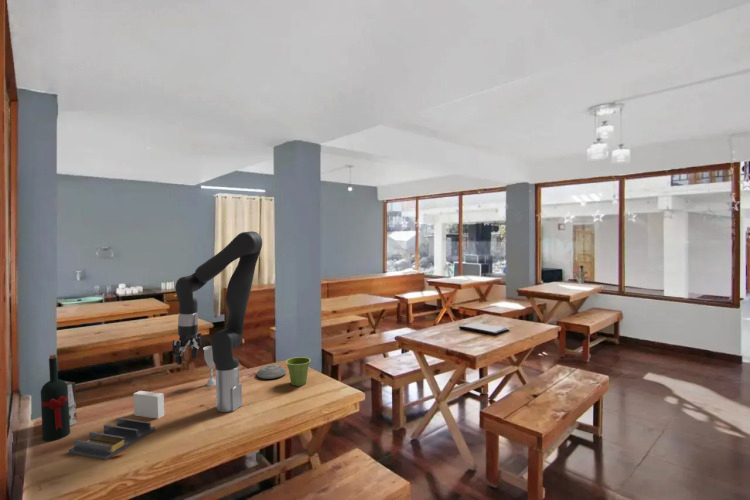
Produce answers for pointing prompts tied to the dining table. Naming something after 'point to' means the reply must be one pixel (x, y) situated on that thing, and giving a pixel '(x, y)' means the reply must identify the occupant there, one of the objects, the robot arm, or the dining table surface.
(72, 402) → the coffee box
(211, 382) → the chalice
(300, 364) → the plant pot
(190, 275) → the robot arm
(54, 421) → the wine bottle
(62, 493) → the dining table surface
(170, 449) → the dining table surface
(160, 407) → the panel
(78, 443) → the rack
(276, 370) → the grey stone
